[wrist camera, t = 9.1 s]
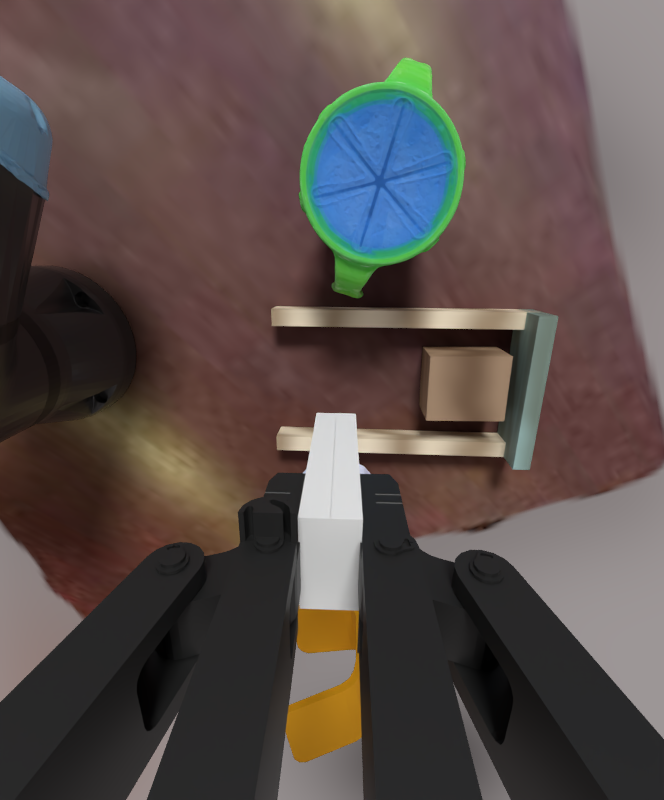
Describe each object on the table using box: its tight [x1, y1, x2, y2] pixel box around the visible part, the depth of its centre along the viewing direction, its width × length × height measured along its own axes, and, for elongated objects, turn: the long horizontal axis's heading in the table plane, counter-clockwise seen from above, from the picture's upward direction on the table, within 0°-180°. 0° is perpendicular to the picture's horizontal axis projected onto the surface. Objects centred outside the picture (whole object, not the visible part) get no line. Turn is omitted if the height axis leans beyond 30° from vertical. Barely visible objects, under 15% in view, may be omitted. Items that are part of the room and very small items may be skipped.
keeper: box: [419, 347, 513, 421], centre depth 38 cm, size 7×6×4 cm
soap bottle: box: [286, 464, 370, 762], centre depth 33 cm, size 9×9×25 cm
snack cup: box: [299, 58, 466, 298], centre depth 30 cm, size 16×10×10 cm
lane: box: [271, 306, 558, 470], centre depth 38 cm, size 24×14×5 cm, turn 90°
